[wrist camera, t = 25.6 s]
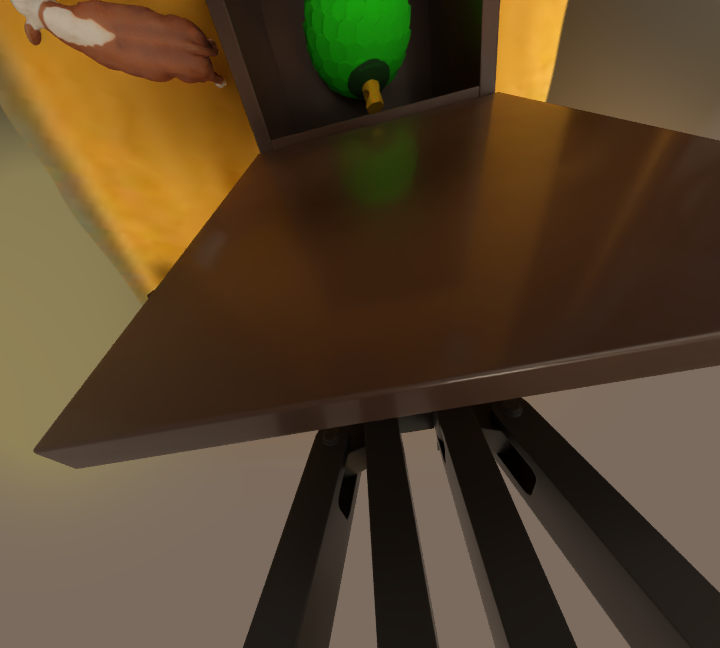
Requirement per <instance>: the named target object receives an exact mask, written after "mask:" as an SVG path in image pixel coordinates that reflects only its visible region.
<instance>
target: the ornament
mask: <svg viewBox="0 0 720 648" xmlns="http://www.w3.org/2000/svg"><path fill="white" fill-rule="evenodd" d="M304 16H305V20H304V22H303V29H304V33H305V37H306V38H305V40H306V43H307V44H306V47H307V51H308V53H309V56H310V57H311V58H310V59H311V61H312V64H313V66H314V68H315V70H316V71H317V72H318V73H319V74H318V75H319V77H320V78H321V79H322V80H323V81H324V82H325V83H326V84H328V86H329V88H330V89H331V90H332V91H334V92H336V93H339V94H340V95H342V96H345V97H348V98H355V99H363V98H365V100H366V104H367V105H366V108H367V111H368V113H369V114H373V113H377V112H380V111H381V110H382V108H383V106H384V103H383V100H382V96H381V94H380V92H381V91H382V90H383V89H384V87H385V86H387V85H388V84H389V83H390V82H391V81H392V80H393V79H394V78H395V77H396V74H397V71H398V69H399V68H400V66H401V65H402V63H403V61H404V59H405V56H406V53H405V52H406V49H407V47H408V43H409V40H410V35H411V30H410V29H409V26H410V17H411V5H409V4H408V0H304Z"/></svg>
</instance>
